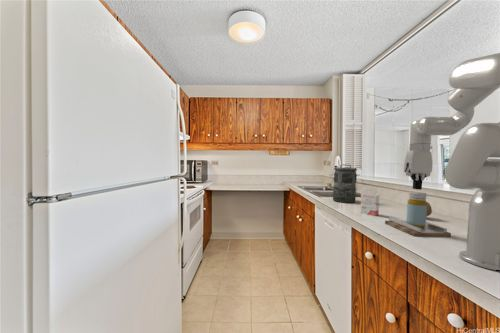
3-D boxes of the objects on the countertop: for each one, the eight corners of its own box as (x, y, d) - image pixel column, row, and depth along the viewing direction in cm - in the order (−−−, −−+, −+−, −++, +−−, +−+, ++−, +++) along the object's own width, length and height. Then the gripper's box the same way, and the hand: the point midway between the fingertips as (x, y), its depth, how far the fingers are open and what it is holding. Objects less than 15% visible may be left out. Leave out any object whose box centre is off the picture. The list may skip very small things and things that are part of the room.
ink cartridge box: (378, 214, 128) (380, 189, 128) (375, 216, 125) (377, 189, 125) (363, 212, 135) (364, 187, 134) (359, 213, 132) (361, 188, 131)
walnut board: (450, 236, 93) (450, 233, 93) (413, 235, 92) (413, 232, 92) (416, 224, 111) (416, 221, 111) (384, 223, 110) (385, 220, 110)
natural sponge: (407, 216, 128) (407, 198, 128) (417, 215, 131) (418, 198, 131) (424, 220, 120) (425, 201, 119) (434, 219, 123) (435, 201, 122)
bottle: (409, 222, 106) (411, 191, 106) (427, 226, 100) (429, 193, 100) (403, 224, 102) (405, 191, 101) (422, 229, 96) (424, 194, 96)
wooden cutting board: (446, 233, 93) (447, 228, 93) (417, 232, 92) (418, 228, 92) (413, 221, 111) (413, 217, 110) (388, 220, 110) (388, 216, 110)
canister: (355, 201, 174) (357, 165, 173) (355, 204, 160) (357, 165, 159) (333, 198, 181) (335, 164, 180) (331, 201, 166) (333, 164, 166)
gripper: (428, 149, 104) (426, 188, 105) (397, 148, 104) (395, 187, 104) (443, 148, 97) (440, 190, 98) (409, 147, 96) (407, 189, 97)
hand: (417, 189), depth 101 cm, fingers closed
